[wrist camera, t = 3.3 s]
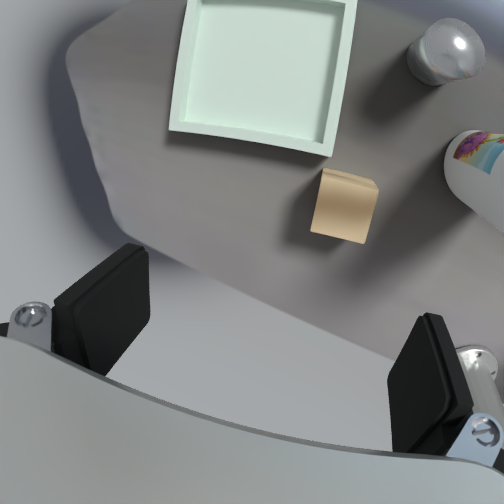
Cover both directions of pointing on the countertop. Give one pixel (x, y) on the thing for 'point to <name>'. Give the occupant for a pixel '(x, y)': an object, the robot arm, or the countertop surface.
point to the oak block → (344, 206)
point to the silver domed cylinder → (446, 53)
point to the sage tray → (264, 71)
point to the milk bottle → (478, 173)
